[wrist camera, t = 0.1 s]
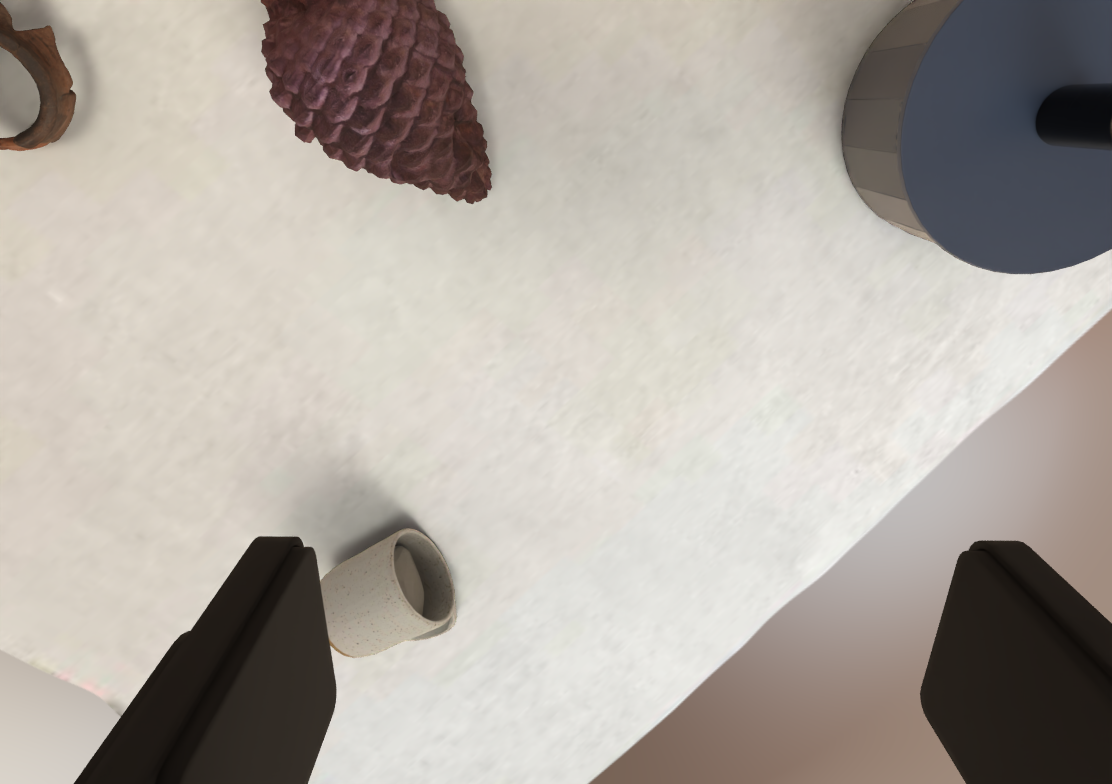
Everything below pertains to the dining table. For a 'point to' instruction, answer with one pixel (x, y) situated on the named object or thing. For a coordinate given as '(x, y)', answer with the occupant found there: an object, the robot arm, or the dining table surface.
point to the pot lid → (1013, 134)
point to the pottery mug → (40, 83)
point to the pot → (886, 111)
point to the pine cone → (379, 90)
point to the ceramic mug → (388, 596)
